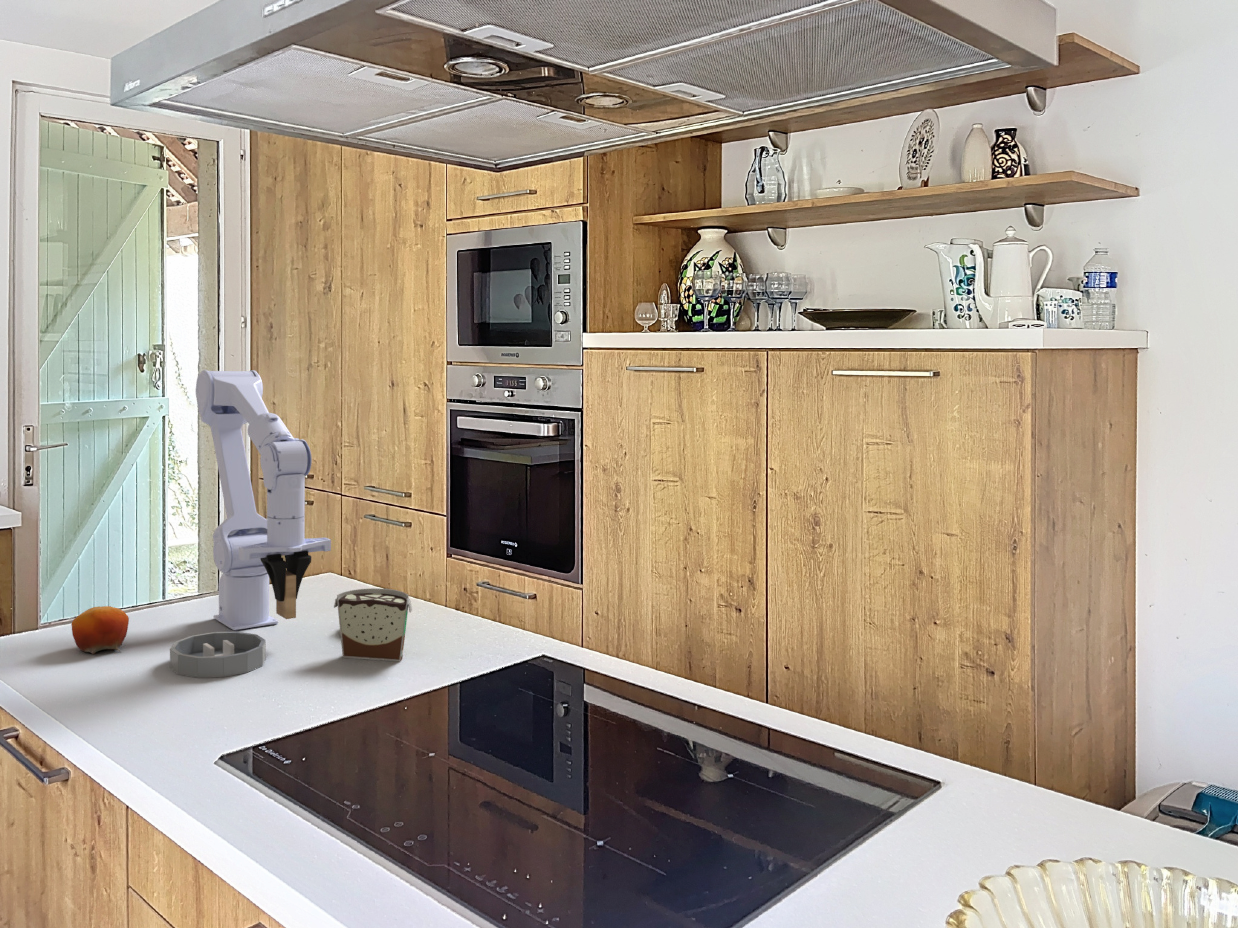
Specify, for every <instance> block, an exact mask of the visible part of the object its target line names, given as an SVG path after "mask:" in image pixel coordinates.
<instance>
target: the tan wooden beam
mask: <svg viewBox="0 0 1238 928" xmlns="http://www.w3.org/2000/svg"><path fill="white" fill-rule="evenodd" d="M275 600H276V599H275ZM275 604H276V605H275V607H276V608H275V611H276V612H275V613H276V614H277V615H278V616H280V617H282V618H283V619H285V620H290V619H296V618H297V599H296V575H295V574H293V573H291V572H289V571H287V569H286V574H285V596H284V601H278V600H276V601H275Z"/></svg>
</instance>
